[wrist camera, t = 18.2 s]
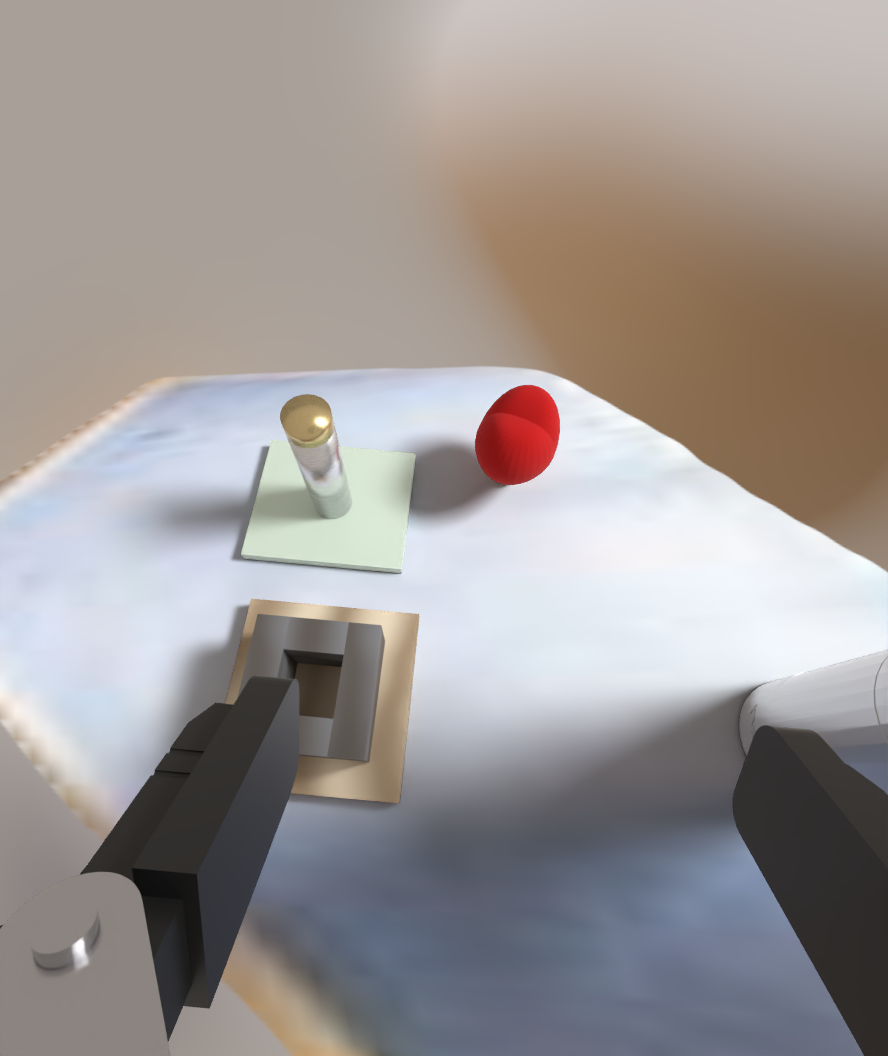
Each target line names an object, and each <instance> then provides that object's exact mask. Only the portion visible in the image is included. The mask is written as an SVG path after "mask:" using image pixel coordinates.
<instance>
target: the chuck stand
mask: <svg viewBox="0 0 888 1056" xmlns="http://www.w3.org/2000/svg"><path fill="white" fill-rule="evenodd" d="M418 625H419V614H411V613H400V612H389V611H378V610H368V609H357V608H346V607H335V606H325V605H314V604H303V603H292V602H282V601H271V600H260V599H251V601H250V605H249V609H248V613H247V617H246V621H245V625H244V629H243V633H242V637H241V641H240V646H239V650H238V654H237V658H236V662H235V666H234V670H233V674H232V678H231V682H230V686H229V690H228V694H227V698H226V702H225V704H233V705H234V703H235V701H236V700H237V698H238V697H239V695H240V693H241V692H242V690H243V689H244V687H245V685H246V684H247V682H248V681H249V679H250V678H251V677H252V676H254V675H256V676H267V677H278V678H288V679H297V680H298V683H299V741H300V748H299V761H298V767H297V773H296V777H295V781H294V785H293V788H292V791H291V793H293V794H304V795H315V796H326V797H337V798H347V799H358V800H369V801H380V802H391V803H400V796H401V786H402V777H403V767H404V758H405V748H406V739H407V729H408V720H409V710H410V701H411V691H412V682H413V673H414V663H415V654H416V644H417V635H418Z"/></svg>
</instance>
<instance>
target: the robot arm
mask: <svg viewBox="0 0 888 1056" xmlns="http://www.w3.org/2000/svg"><path fill="white" fill-rule="evenodd" d="M739 729H740V738H741V742H742V746H743V749H744V751H745V754H746V759H745V762H744V765H743V768H742V771H741V773H740V776H739V779H738V782H737V785H736V788H735V790H734V794H733V814H734V819H735V823H736V826H737V828H738V831H739V833H740V835H741V837H742V839H743V840H744V842H745V844H746V846H747V847H748V849H749V851H750V853H751V855H752V856H753V858H754V860H755V862H756V863H757V865H758V867H759V869H760V871H761V872H762V874H763V876H764V878H765V880H766V881H767V883H768V885H769V887H770V888H771V890H772V892H773V894H774V896H775V897H776V899H777V901H778V903H779V904H780V906H781V908H782V910H783V912H784V913H785V915H786V917H787V919H788V920H789V922H790V924H791V926H792V928H793V929H794V931H795V933H796V935H797V937H798V938H799V940H800V942H801V944H802V945H803V947H804V949H805V951H806V953H807V954H808V956H809V958H810V960H811V961H812V963H813V965H814V967H815V969H816V970H817V972H818V974H819V976H820V978H821V979H822V981H823V983H824V985H825V986H826V988H827V990H828V992H829V994H830V995H831V997H832V999H833V1001H834V1002H835V1004H836V1006H837V1008H838V1010H839V1011H840V1013H841V1015H842V1017H843V1018H844V1020H845V1022H846V1024H847V1026H848V1027H849V1029H850V1031H851V1033H852V1035H853V1036H854V1038H855V1040H856V1042H857V1043H858V1045H859V1047H860V1049H861V1051H862V1052H863V1054H864V1056H888V650H885V651H881V652H878V653H874V654H870V655H867V656H863V657H859V658H856V659H852V660H848V661H845V662H841V663H838V664H834V665H830V666H827V667H823V668H819V669H816V670H812V671H808V672H805V673H801V674H797V675H793V676H790V677H786V678H782V679H779V680H775V681H772V682H769V683H766V684H763V685H761V686H759V687H758V688H756V689H755V690H754V691H752V692H751V694H750V695H749V696H748V698H747V699H746V700H745V702H744V705H743V707H742V709H741V714H740V720H739ZM299 748H300V741H299V683H298V680H297V679H288V678H278V677H267V676H256V675H254V676H252V677H251V678H250V679H249V681H248V682H247V684H246V685H245V687H244V689H243V690H242V692H241V693H240V695H239V697H238V698H237V700H236V701H235V703H234V705H233V704H222V703H215V704H214V705H212V706H211V707H209V708H208V709H207V710H205V711H204V712H203V713H201V714H200V715H198V716H197V717H196V718H194V719H193V720H192V721H190V722H189V723H188V724H187V725H186V727H185V728H184V730H183V731H182V733H181V734H180V735H179V737H178V738H177V740H176V741H175V742H174V744H173V745H172V747H171V748H170V752H169V753H167V754H166V755H165V756H164V758H163V759H162V761H161V762H160V763H159V765H158V766H157V768H156V769H155V773H154V775H153V776H150V778H149V779H148V780H147V782H146V783H145V785H144V786H143V787H142V789H141V790H140V792H139V793H138V794H137V796H136V797H135V799H134V800H133V801H132V803H131V804H130V806H129V807H128V808H127V810H126V811H125V813H124V814H123V816H122V817H121V818H120V820H119V821H118V823H117V824H116V825H115V827H114V828H113V830H112V831H111V832H110V834H109V835H108V837H107V838H106V839H105V841H104V842H103V844H102V845H101V846H100V848H99V850H98V851H97V852H96V854H95V855H94V856H93V858H92V859H91V861H90V862H89V863H88V865H87V866H86V867H85V869H84V870H83V871H82V872H81V874H80V875H78V876H75V877H72V878H69V879H66V880H63V881H61V882H59V883H57V884H55V885H53V886H51V887H49V888H47V889H46V890H44V891H43V892H41V893H39V894H38V895H36V896H35V897H33V898H32V899H31V900H29V901H28V902H27V903H25V904H24V905H23V906H22V907H21V908H20V909H18V910H17V911H16V912H15V913H14V914H13V915H12V916H11V917H10V918H9V920H7V922H6V923H5V924H4V925H1V926H0V1056H170V1051H169V1045H168V1041H169V1038H170V1036H171V1034H172V1031H173V1029H174V1027H175V1024H176V1022H177V1019H178V1017H179V1015H180V1012H181V1010H182V1008H183V1006H190V1007H200V1008H210V1005H211V1003H212V1001H213V998H214V995H215V993H216V990H217V987H218V985H219V982H220V979H221V977H222V974H223V971H224V969H225V966H226V963H227V961H228V958H229V955H230V953H231V950H232V947H233V945H234V942H235V939H236V937H237V934H238V931H239V929H240V926H241V923H242V921H243V918H244V916H245V913H246V910H247V908H248V905H249V902H250V900H251V897H252V894H253V892H254V889H255V886H256V884H257V881H258V878H259V876H260V873H261V870H262V868H263V865H264V862H265V860H266V857H267V854H268V852H269V849H270V846H271V844H272V841H273V838H274V836H275V833H276V830H277V828H278V825H279V823H280V820H281V817H282V815H283V812H284V809H285V807H286V804H287V801H288V799H289V796H290V793H291V791H292V788H293V785H294V781H295V777H296V773H297V767H298V761H299Z"/></svg>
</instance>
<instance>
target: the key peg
mask: <svg viewBox="0 0 888 1056" xmlns="http://www.w3.org/2000/svg"><path fill="white" fill-rule="evenodd" d="M280 420H281V423H282V425H283V428H284V431H285V433H286V436H287V438H288V441H289V444H290V446H291V449H292V451H293V454H294V456H295V459H296V462H297V464H298V467H299V469H300V472H301V474H302V477H303V480H304V482H305V485H306V487H307V490H308V493H309V495H310V498H311V500H312V503H313V505H314V508H315V510H316V512H317V513H318V514H319V515H320V516H322V517H324V518H327V519H337V518H340V517H342V516H344V515H345V514H347V513H348V511H349V510H350V508H351V506H352V496H351V492H350V488H349V484H348V480H347V475H346V471H345V467H344V463H343V459H342V455H341V451H340V446H339V442H338V438H337V434H336V430H335V426H334V421H333V417H332V413H331V409H330V406H329V405H328V403H327V402H326V401H325V400H324V399H322V398H321V397H318V396H315V395H308V394H307V395H300V396H296V397H294V398H292V399H291V400H289V401H288V402H287V403H286V404H285V405H284V406H283V408H282V410H281V413H280Z"/></svg>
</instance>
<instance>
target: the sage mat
mask: <svg viewBox="0 0 888 1056" xmlns="http://www.w3.org/2000/svg"><path fill="white" fill-rule="evenodd" d="M340 451H341V455H342V459H343V463H344V467H345V471H346V475H347V480H348V484H349V488H350V492H351V496H352V506H351V508H350V510H349V511H348V513H347V514H345V515H344V516H342V517H340V518H337V519H327V518H324V517H322V516H320V515H319V514H318V513H317V512H316V510H315V508H314V505H313V503H312V500H311V498H310V495H309V493H308V490H307V487H306V485H305V482H304V480H303V477H302V474H301V472H300V469H299V467H298V464H297V462H296V459H295V456H294V454H293V451H292V449H291V446H290V444H289V442H287V441H276V440H271V443H270V447H269V451H268V455H267V458H266V462H265V466H264V470H263V473H262V477H261V481H260V484H259V488H258V492H257V496H256V499H255V503H254V507H253V511H252V514H251V518H250V522H249V526H248V529H247V533H246V537H245V541H244V544H243V548H242V552H241V555H242V556H243V558H244V559H253V560H264V561H275V562H286V563H296V564H307V565H318V566H329V567H339V568H350V569H361V570H372V571H382V572H393V573H401V572H402V564H403V556H404V548H405V540H406V532H407V524H408V516H409V508H410V500H411V492H412V484H413V476H414V468H415V460H416V454H415V453H404V452H394V451H383V450H372V449H362V448H351V447H340Z"/></svg>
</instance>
